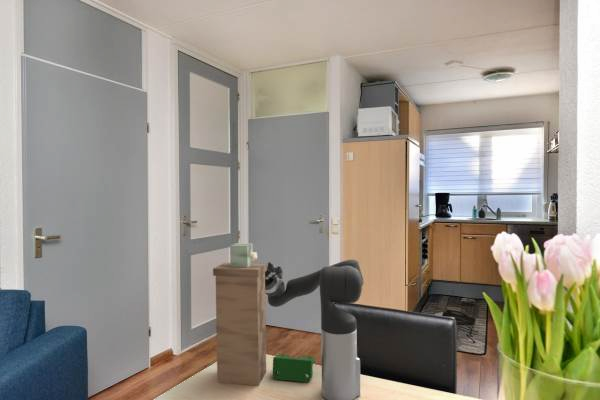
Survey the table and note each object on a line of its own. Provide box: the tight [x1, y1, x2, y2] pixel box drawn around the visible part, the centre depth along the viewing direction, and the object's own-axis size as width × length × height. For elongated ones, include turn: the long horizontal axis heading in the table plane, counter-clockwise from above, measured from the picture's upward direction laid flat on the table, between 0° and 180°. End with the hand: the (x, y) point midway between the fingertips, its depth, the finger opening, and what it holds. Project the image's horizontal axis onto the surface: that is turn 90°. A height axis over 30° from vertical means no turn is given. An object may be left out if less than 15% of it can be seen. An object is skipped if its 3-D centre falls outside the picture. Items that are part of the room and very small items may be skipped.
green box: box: [272, 354, 316, 383], centre depth 111 cm, size 12×6×9 cm, turn 72°
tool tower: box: [212, 262, 268, 386], centre depth 110 cm, size 9×13×32 cm
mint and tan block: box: [229, 242, 258, 267], centre depth 115 cm, size 14×5×6 cm, turn 170°
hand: (256, 264), depth 125 cm, fingers open, 8 cm apart
